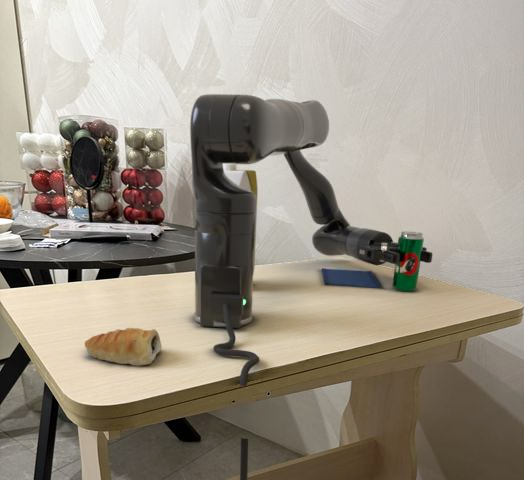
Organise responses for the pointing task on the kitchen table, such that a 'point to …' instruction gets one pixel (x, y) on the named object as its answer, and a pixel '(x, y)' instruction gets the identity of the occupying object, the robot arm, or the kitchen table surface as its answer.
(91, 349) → the pastry
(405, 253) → the soda can
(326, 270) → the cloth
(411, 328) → the kitchen table surface
